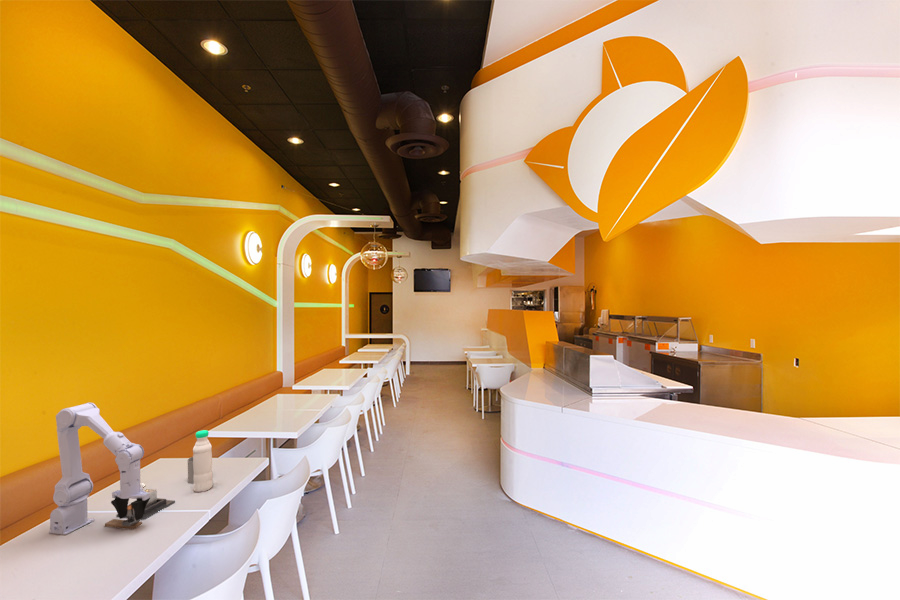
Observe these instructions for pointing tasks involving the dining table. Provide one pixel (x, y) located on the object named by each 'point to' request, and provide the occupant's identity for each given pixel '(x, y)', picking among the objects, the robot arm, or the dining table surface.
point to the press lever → (130, 517)
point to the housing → (151, 497)
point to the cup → (190, 471)
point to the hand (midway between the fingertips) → (131, 518)
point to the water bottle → (202, 462)
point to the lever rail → (118, 524)
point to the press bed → (155, 507)
